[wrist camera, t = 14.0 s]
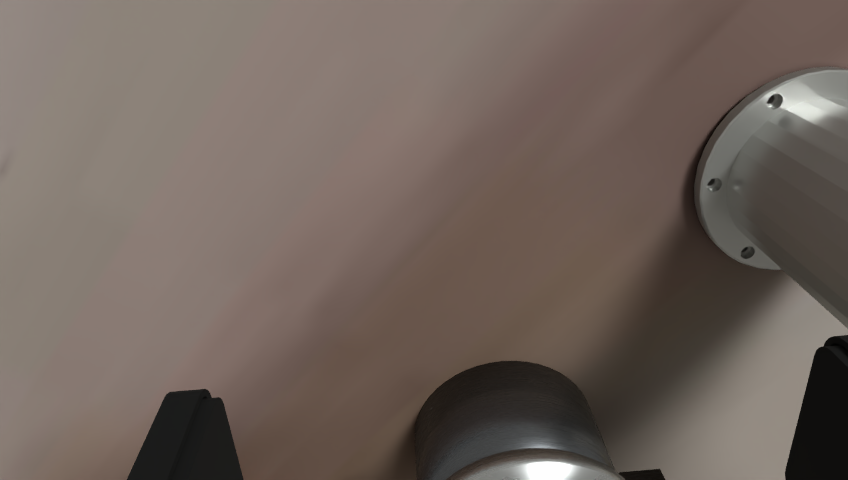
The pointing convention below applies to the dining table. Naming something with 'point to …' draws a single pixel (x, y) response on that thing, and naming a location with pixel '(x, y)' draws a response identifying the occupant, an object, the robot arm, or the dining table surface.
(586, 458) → the lid
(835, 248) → the robot arm
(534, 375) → the pot
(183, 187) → the dining table surface
